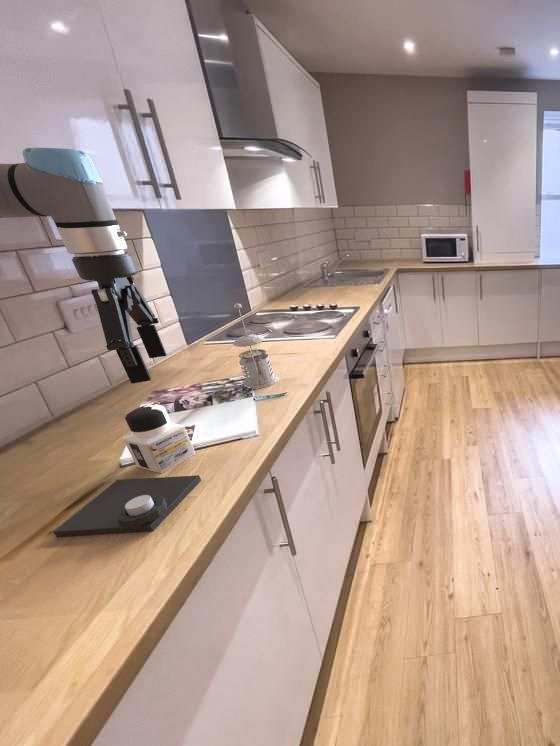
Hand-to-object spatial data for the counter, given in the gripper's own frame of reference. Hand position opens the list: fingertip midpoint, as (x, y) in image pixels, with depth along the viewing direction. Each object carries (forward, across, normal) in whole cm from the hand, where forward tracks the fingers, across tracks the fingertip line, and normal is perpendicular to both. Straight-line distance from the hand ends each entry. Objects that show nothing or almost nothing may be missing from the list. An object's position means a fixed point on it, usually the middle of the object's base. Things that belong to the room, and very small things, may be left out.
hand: (150, 368), depth 78 cm
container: (+24, +6, +6) cm, 25 cm away
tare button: (+21, -15, +5) cm, 26 cm away
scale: (+24, -9, +8) cm, 27 cm away
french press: (+24, +42, -12) cm, 50 cm away
